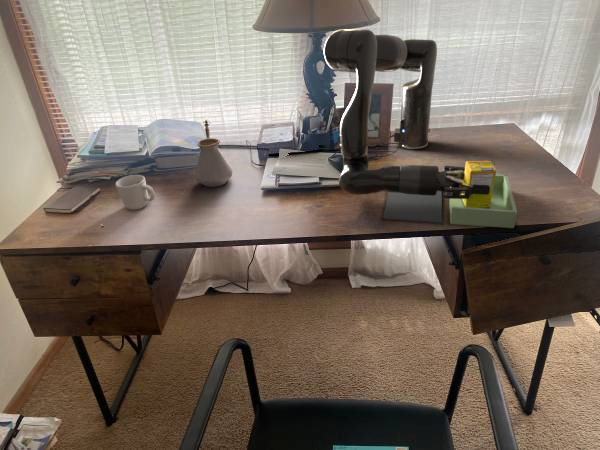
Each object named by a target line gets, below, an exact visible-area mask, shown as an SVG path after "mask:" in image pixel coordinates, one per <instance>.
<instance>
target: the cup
mask: <svg viewBox="0 0 600 450" xmlns="http://www.w3.org/2000/svg"><path fill="white" fill-rule="evenodd" d="M114 186H115V188H116V189H117V193H118V194H119V196H120V199H121V200H122V203H123V205H124V206H125V208H126V209H128V210H131V211H137V210H140V209H143V208H145V207H146V206H147V205H148V204H149V202H152V201H153V200H155V197H156V193H155V190H154V189H153V187H152V186H151V185H149V184H147V182H146V178H145V176H144V175H142V174H130V175H126V176H123V177H120V178H119V179H118V180H116V182H115V185H114ZM148 192H149V193H148ZM149 194H150V196H149Z"/></svg>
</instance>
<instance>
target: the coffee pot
mask: <svg viewBox="0 0 600 450" xmlns="http://www.w3.org/2000/svg"><path fill="white" fill-rule="evenodd" d="M210 123H211V121H210V120H208V119H205V120H204V121H202V124H203V125H204V127H205V129H204V130H205V137H206V138H204V139H201V140H199V141H198V142H197V143H196V145H197V147H198V148H199V149H200V151H199V155H198V159H197V160H198V161H197V165H196V168H195V169H196V170H195V173H194V177H195V180H196V181H197V182H198V183H200V184H201V185H204V186H205V187H208V188H215V187H216V188H217V187H220V186H224V185H225V184H226V183H227V182H228V181H229V180H230V178H231V177H232V176H233V172H234V170H233V167H232V166H231V165H230V162H228V160H227V159H226V157H225V156H224V154H223V153H222V151H221V150H220V147H218V145H220V143H221V140H220V139H218V138H214V137H213V138H211V137H210V135H211V134H210V127H209V125H210Z"/></svg>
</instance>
